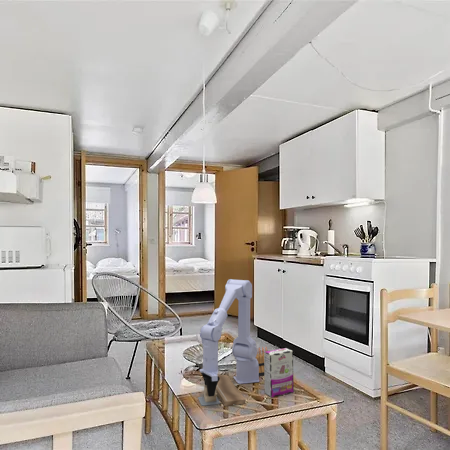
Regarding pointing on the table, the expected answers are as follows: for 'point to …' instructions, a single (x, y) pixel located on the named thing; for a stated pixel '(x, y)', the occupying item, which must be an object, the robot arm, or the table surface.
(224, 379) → the walnut board
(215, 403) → the slate mat
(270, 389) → the candy bar box
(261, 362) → the ammunition clip
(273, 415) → the table surface
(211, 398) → the block
